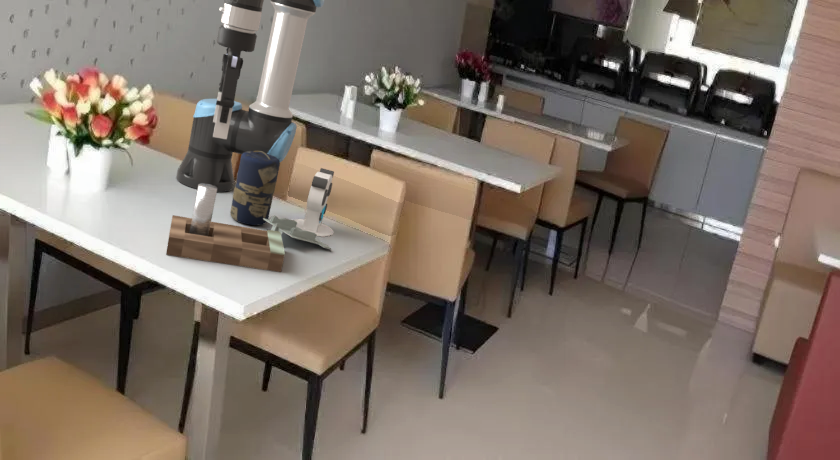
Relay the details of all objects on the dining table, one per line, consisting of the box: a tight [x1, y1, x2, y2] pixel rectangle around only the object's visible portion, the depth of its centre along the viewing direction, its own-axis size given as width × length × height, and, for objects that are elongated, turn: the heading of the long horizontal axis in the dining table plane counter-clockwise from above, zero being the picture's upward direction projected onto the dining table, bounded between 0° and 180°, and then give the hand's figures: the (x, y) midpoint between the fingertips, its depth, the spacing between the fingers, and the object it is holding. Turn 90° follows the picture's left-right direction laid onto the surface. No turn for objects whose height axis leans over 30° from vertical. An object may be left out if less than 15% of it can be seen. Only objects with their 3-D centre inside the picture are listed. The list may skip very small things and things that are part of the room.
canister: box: [229, 151, 281, 226], centre depth 202 cm, size 10×10×18 cm
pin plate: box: [165, 214, 286, 273], centre depth 180 cm, size 14×24×4 cm, turn 104°
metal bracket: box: [263, 214, 332, 250], centre depth 198 cm, size 14×6×15 cm
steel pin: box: [189, 183, 218, 236], centre depth 177 cm, size 4×4×14 cm
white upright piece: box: [293, 167, 335, 238], centre depth 209 cm, size 12×11×15 cm
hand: (219, 130), depth 172 cm, fingers open, 13 cm apart
